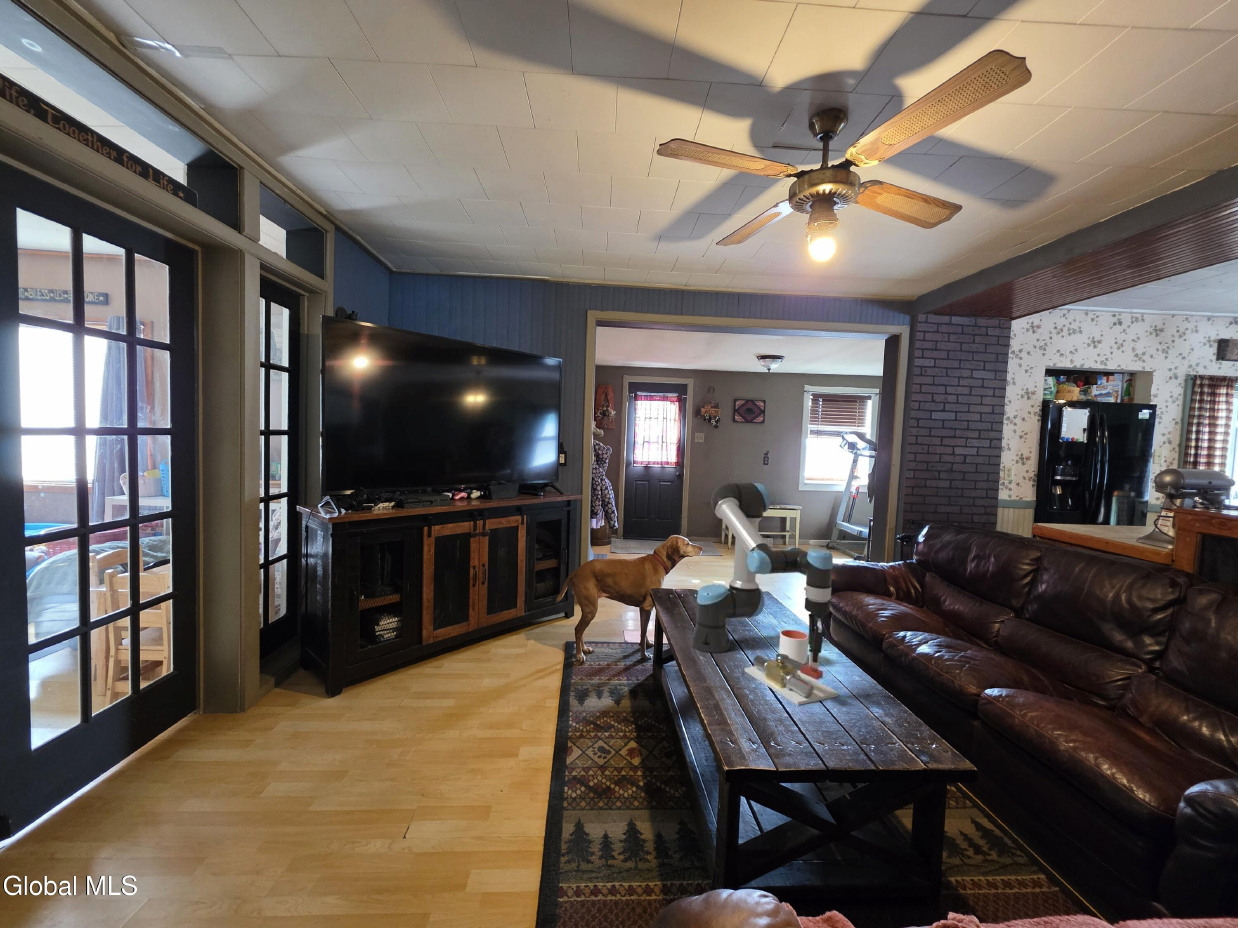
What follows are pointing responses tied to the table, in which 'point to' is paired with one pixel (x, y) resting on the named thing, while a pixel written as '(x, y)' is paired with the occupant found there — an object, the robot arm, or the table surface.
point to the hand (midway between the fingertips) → (813, 670)
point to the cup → (794, 645)
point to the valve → (783, 676)
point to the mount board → (818, 690)
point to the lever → (800, 666)
